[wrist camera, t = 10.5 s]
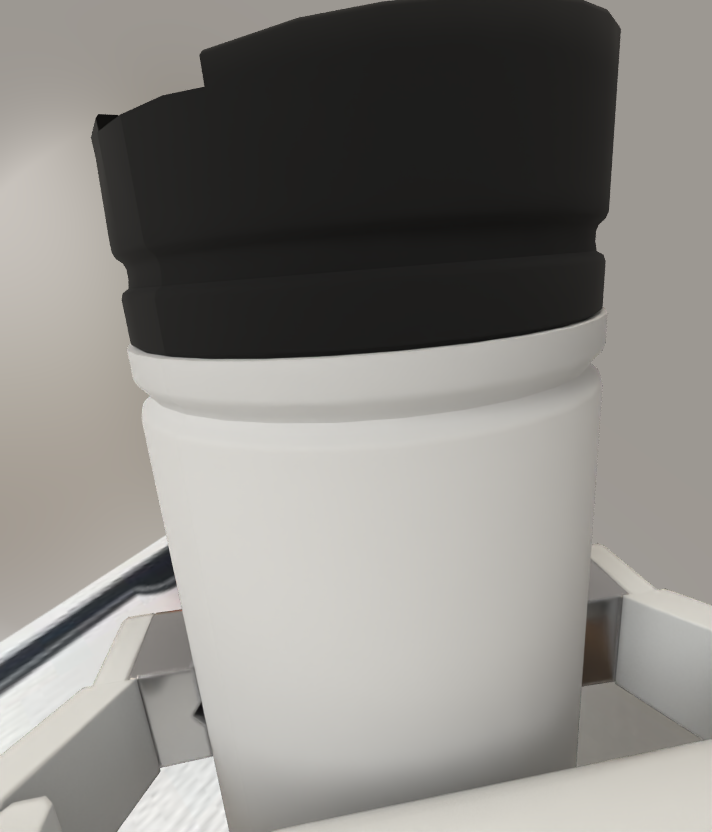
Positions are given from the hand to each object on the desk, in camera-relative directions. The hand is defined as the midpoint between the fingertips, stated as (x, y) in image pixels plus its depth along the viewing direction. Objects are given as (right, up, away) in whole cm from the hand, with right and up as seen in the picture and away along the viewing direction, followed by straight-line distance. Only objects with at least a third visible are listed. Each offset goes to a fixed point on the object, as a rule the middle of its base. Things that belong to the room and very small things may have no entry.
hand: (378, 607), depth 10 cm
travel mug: (+1, -11, +2) cm, 11 cm away
